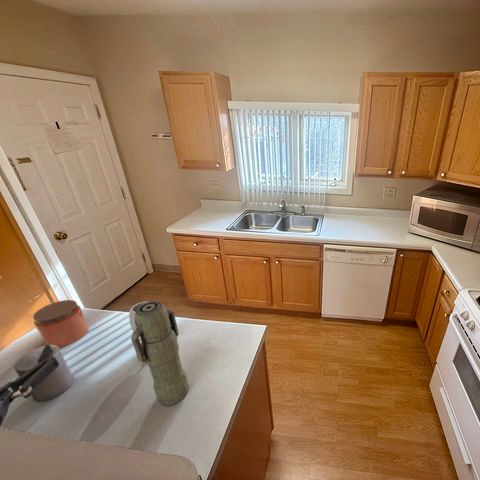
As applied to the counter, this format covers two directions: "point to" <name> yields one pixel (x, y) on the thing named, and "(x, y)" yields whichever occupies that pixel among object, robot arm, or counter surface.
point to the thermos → (160, 351)
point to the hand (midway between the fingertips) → (15, 360)
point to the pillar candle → (54, 382)
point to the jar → (61, 323)
